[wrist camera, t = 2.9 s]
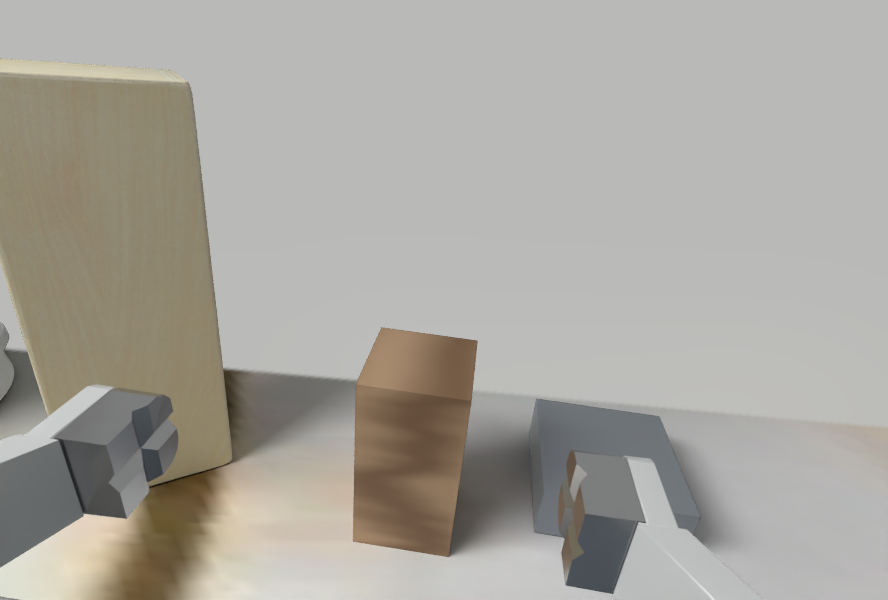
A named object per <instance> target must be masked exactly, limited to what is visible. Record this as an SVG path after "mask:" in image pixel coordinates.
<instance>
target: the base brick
mask: <svg viewBox="0 0 888 600" xmlns="http://www.w3.org/2000/svg"><path fill="white" fill-rule="evenodd" d="M529 445H530V463H531V481H532V499H533V517H534V532H536V533H542V534H548V535H555V536H561V537H563V536H562V535H561V534H560V532H559V525H558V502H559V493H560V489H561V484H562V482H563V481H564V480H565V479H567V478H568V476H567V468H566V463H567V459H568V455H569V453H570V451H571V449H572V450H579V451H587V452H595V453H603V454H611V455H619V456H631V457H640V458H649V459H651V460H652V461H653V462H654V464H655V466H656V469H657V472H658V474H659V477H660V480H661V482H662V485H663V488H664V490H665V493H666V496H667V498H668V501H669V504H670V506H671V509H672V512H673V514H674V517H675V520H676V522H677V525H678V528H680V529H687V530H688V531H689V532H690V533H691V534H692V535H693V533H694V531H695V529H696V527H697V524H698V522H699V520H700V518H701V516H700V514H699V511H698V509H697V507H696V504H695V502H694V499H693V497H692V494H691V492H690V490H689V487H688V485H687V482H686V480H685V477H684V475H683V473H682V470H681V468H680V465H679V463H678V461H677V458H676V456H675V453H674V451H673V448H672V446H671V444H670V441H669V439H668V436H667V434H666V431H665V429H664V427H663V424H662V422H661V419H660V417H659V416H653V415H646V414H639V413H632V412H625V411H618V410H611V409H604V408H597V407H590V406H583V405H576V404H569V403H563V402H556V401H549V400H542V399H536V403H535V408H534V412H533V417H532V422H531V426H530V431H529Z"/></svg>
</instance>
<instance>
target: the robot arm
mask: <svg viewBox="0 0 888 600" xmlns="http://www.w3.org/2000/svg"><path fill="white" fill-rule="evenodd" d="M8 340H9V334H8V332H7V330H6V328H5V326H4V325H3V324H2V323H0V400H1V399H2V398H3V397H4V396H5V394H6V393H7V392H8V390H9V388H10V387H11V384H12V382H13V379H14V368H13V365H12V363H11V361H10V360H9V359H8V357H7V356H6V354H5V352H4V349H5V347H6V345H7V343H8ZM172 412H173V407H172V403H171V399H170V398H169V397H167V396H165V395H164V394H157V393H151V392H145V391H139V390H132V389H126V388H120V387H119V388H116V387H110V386H104V385H98V384H95V385H91V386H87V387H86V388H84V389H83V390H82V391H80V392H79V393H78V394H77V395H75V396H74V397H73V398H71V399H70V400H69V401H68V402H66V403H65V404H64V405H63V406H61V407H60V408H59V409H57V410H56V411H55V412H54V413H52V414H51V415H50V416H48V417H47V418H46V419H45V420H43V421H42V422H41V423H39V424H38V425H37V426H36V427H34V428H33V429H32V430H31V431H29V432H28V433H27V434H25V435H21V434H16V435H13V436H10V437H8V438H5V439H2V440H0V567H2V566H3V565H5V564H7V563H8V562H10V561H12V560H13V559H15V558H16V557H18V556H20V555H21V554H23V553H25V552H26V551H28V550H29V549H31V548H33V547H34V546H36V545H37V544H39V543H41V542H42V541H44V540H46V539H47V538H49V537H50V536H52V535H54V534H55V533H57V532H59V531H60V530H62V529H63V528H65V527H67V526H68V525H70V524H72V523H73V522H75V521H76V520H78V519H80V518H81V517H83V516H84V514H92V515H100V516H108V517H116V518H125V519H127V518H128V517H129V516H130V514H131V513H132V512H133V511H134V510H135V508H136V507H137V506H138V505H139V504H140V502H141V501H142V500H143V499H144V497H145V496H146V495H147V494H148V493H149V482H150V481H152V480H154V479H156V478H158V477H159V476H161V475H163V474H164V473H165V472H166V470H167V469H168V468H169V467H170V465H171V464H172V462H173V460H174V457H175V455H176V452H177V450H178V439H179V438H178V432H177V428H176V427H175V426H174V425H173V424H172V423H171V422H170V420H169V419H168V418H169V417H170V415H171V414H172ZM566 468H567V476H568V478H567V479H565V480H564V481H563V482H562V484H561V489H560V493H559V502H558V525H559V532H560V534H561V535H562V536H563V537H564V538H565V541H564V545H563V549H562V561H563V569H564V577H565V585H566V586H572V587H577V588H583V589H588V590H594V591H599V592H605V593H611V594H613V598H614V599H615V600H763V599H762V598H761V597H760V596H759V595H758V594H757V593H756V592H754V591H753V590H752V589H751V588H750V587H749V586H748V585H747V584H746V583H745V582H744V581H742V580H741V579H740V578H739V577H738V576H737V575H736V574H735V573H734V572H733V571H732V570H731V569H729V568H728V567H727V566H726V565H725V564H724V563H723V562H722V561H721V560H720V559H719V558H717V557H716V556H715V555H714V554H713V553H712V552H711V551H710V550H709V549H708V548H707V547H705V546H704V545H703V544H702V543H701V542H700V541H699V540H698V539H697V538H696V537H695V536H694V535H692V534H691V533H690V532H689V531H688V530H687V529H680V528H678V525H677V522H676V520H675V517H674V514H673V512H672V509H671V506H670V504H669V501H668V498H667V496H666V493H665V490H664V488H663V485H662V482H661V480H660V477H659V474H658V472H657V469H656V466H655V464H654V462H653V461H652V460H651V459H649V458H640V457H631V456H619V455H611V454H603V453H595V452H587V451H579V450H572V449H571V451H570V453H569V455H568V459H567V463H566ZM0 600H18V599H12V598H6V597H0Z"/></svg>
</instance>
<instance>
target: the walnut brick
mask: <svg viewBox="0 0 888 600" xmlns="http://www.w3.org/2000/svg"><path fill="white" fill-rule="evenodd" d="M476 350H477V341H476V340H469V339H461V338H454V337H447V336H440V335H432V334H425V333H418V332H411V331H403V330H395V329H389V328H381V330H380V332H379V334H378V337H377V339H376V341H375V343H374V345H373V347H372V350H371V352H370V354H369V356H368V359H367V361H366V363H365V365H364V367H363V370H362V372H361V374H360V376H359V378H358V381H357V383H356V406H355V460H354V513H353V541H354V542H360V543H366V544H372V545H379V546H385V547H391V548H397V549H403V550H409V551H415V552H421V553H427V554H434V555H440V556H446V557H449V550H450V544H451V537H452V530H453V523H454V516H455V509H456V503H457V496H458V489H459V482H460V475H461V468H462V462H463V455H464V448H465V441H466V434H467V427H468V421H469V414H470V407H471V400H472V390H473V380H474V370H475V361H476Z"/></svg>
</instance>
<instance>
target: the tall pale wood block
mask: <svg viewBox="0 0 888 600" xmlns="http://www.w3.org/2000/svg"><path fill="white" fill-rule="evenodd" d="M0 264H1V267H2V270H3V273H4V277H5V280H6V283H7V286H8V290H9V293H10V297H11V300H12V303H13V306H14V309H15V312H16V316H17V319H18V322H19V325H20V329H21V332H22V335H23V338H24V342H25V345H26V348H27V352H28V355H29V358H30V361H31V365H32V368H33V371H34V374H35V377H36V381H37V384H38V387H39V390H40V393H41V397H42V400H43V403H44V406H45V410H46V413H47V416H50V415H51V414H52V413H54V412H55V411H56V410H57V409H59V408H60V407H61V406H63V405H64V404H65V403H66V402H68V401H69V400H70V399H71V398H73V397H74V396H75V395H77V394H78V393H79V392H80V391H82V390H83V389H84V388H86V387H87V386H91V385H95V384H98V385H104V386H110V387H116V388H119V387H120V388H126V389H132V390H139V391H145V392H151V393H157V394H164V395H165V396H167V397H169V398H170V399H171V403H172V407H173V412H172V414H171V415H170V417H169V418H168V419H169V420H170V422H171V423H172V424H173V425H174V426H175V427H176V428H177V432H178V438H179V439H178V450H177V452H176V455H175V457H174V460H173V462H172V464H171V465H170V467H169V468H168V469H167V470H166V472H165V473H164V474H163V475H161V476H159V477H158V478H156V479H154V480H152V481H150V482H149V486H153V485H156V484H160V483H163V482H167V481H170V480H174V479H177V478H180V477H184V476H187V475H191V474H194V473H198V472H201V471H205V470H209V469H212V468H215V467H219V466H222V465H225V464H227V463H229V462H231V460H232V446H231V437H230V428H229V418H228V409H227V400H226V391H225V382H224V373H223V364H222V355H221V346H220V338H219V329H218V319H217V310H216V301H215V293H214V284H213V275H212V266H211V257H210V248H209V238H208V229H207V221H206V211H205V202H204V192H203V183H202V174H201V165H200V156H199V148H198V139H197V130H196V121H195V112H194V104H193V97H192V91H191V87H190V84H189V83H188V82H187V81H186V80H185V79H184V78H182V77H181V76H180V75H178V74H177V73H176V72H174V71H171V70H164V69H150V68H148V69H147V68H134V67H119V66H106V65H92V64H77V63H61V62H47V61H32V60H16V59H1V58H0Z"/></svg>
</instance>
